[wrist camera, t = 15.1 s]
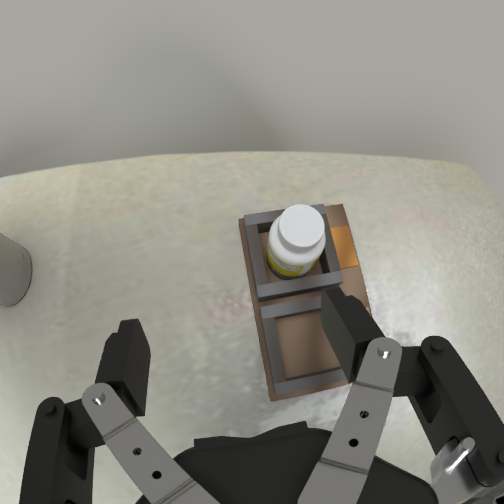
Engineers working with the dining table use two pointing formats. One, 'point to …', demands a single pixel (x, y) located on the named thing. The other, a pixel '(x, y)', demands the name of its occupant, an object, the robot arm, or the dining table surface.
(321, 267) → the socket board
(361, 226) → the dining table surface
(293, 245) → the supplement bottle
